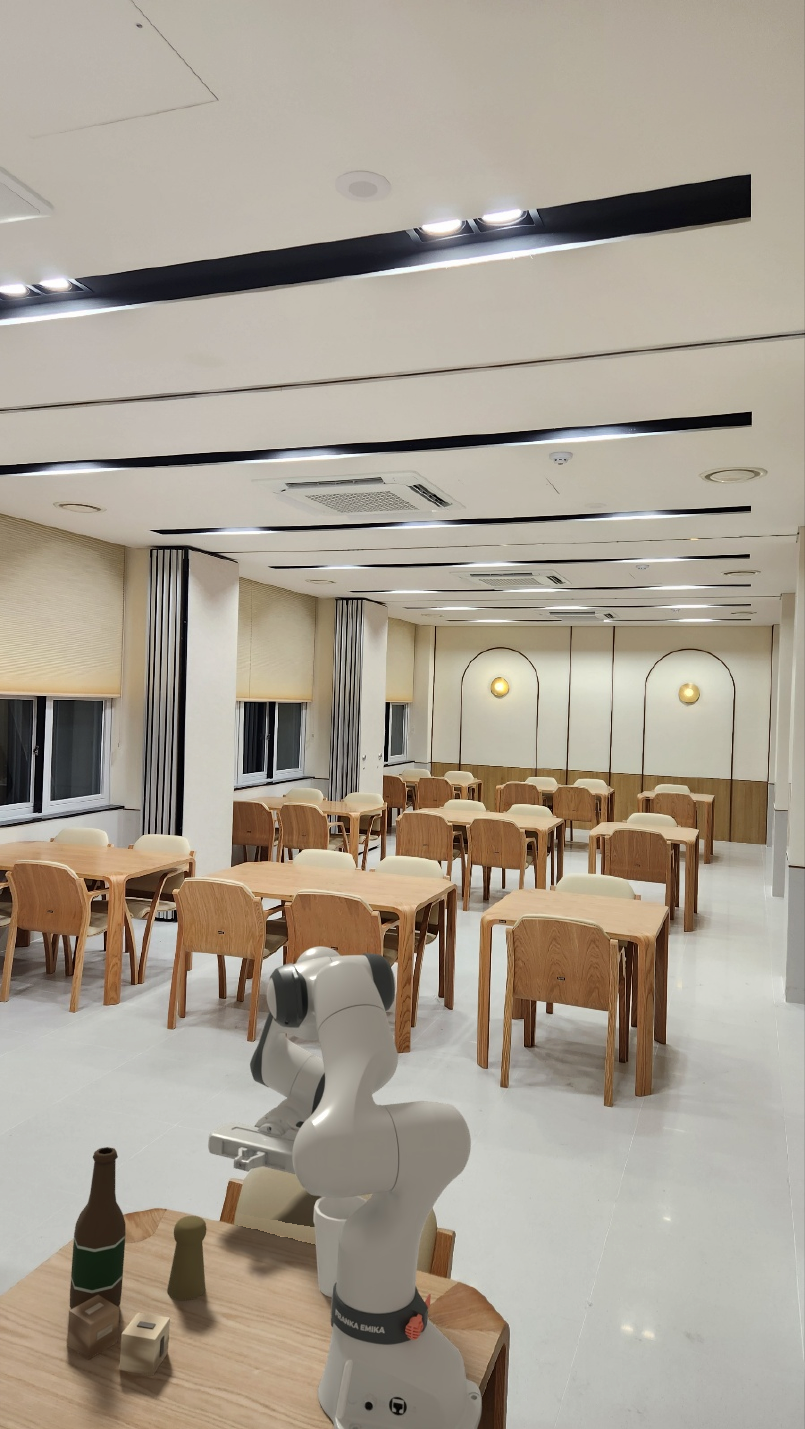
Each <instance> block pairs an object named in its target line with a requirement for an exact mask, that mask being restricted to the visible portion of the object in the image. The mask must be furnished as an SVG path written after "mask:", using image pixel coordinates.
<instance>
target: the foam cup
mask: <svg viewBox="0 0 805 1429" xmlns="http://www.w3.org/2000/svg"><path fill="white" fill-rule="evenodd" d="M367 1201H368V1199H366V1198H364V1197H363V1196H354V1197H347V1198H335V1197H323V1196H320V1197H319V1198H318V1199H317V1200H316V1201H315V1204H314V1206H313V1220H312V1222H313V1224H314V1234H315V1235H314V1236H315V1251H316V1254H315V1255H316V1266H317V1268H316V1269H317V1270H316V1271H317V1284H318V1289H319V1291H320V1292H321V1294H323V1295H325V1296H326V1297H328V1298H332V1295H333V1287H334V1284H335V1283H336V1282H337V1265H338V1247H339V1236H340V1233H341V1230H342V1228H343V1226H344V1224H345V1222H346V1220H347V1219H348V1218H349V1216H350V1215H351V1214H352V1213H354V1212H355V1211H356V1210H357V1209H359V1208H360V1207H361V1206H362V1205H364V1204H365V1203H366V1202H367Z"/></svg>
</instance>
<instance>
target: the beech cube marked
mask: <svg viewBox="0 0 805 1429" xmlns="http://www.w3.org/2000/svg"><path fill="white" fill-rule="evenodd" d="M170 1322H171V1317H168V1316H167V1317H166V1316H161V1315H156V1314H149V1313H145V1312H144V1313H143V1312H137V1313H136V1314H135V1315H134V1317H133V1318H132V1319H131V1320H130V1322H129V1324H128V1325H127V1326H126V1327H125V1329H124V1330H123V1331H122V1333H121V1340H120V1352H119V1353H120V1355H119V1367H118V1368H119V1369H118V1370H120V1371H124V1372H125V1371H126V1372H130V1373H135V1374H141V1375H147V1376H152V1377H153V1376H154V1374H155V1373H156V1372H157V1370H158V1368H159V1366H160V1365H161V1364H162V1362H163V1361H164V1359H165V1357H166V1356H167V1355H168V1353H169V1342H170V1341H169V1339H170V1325H171V1323H170Z"/></svg>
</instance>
